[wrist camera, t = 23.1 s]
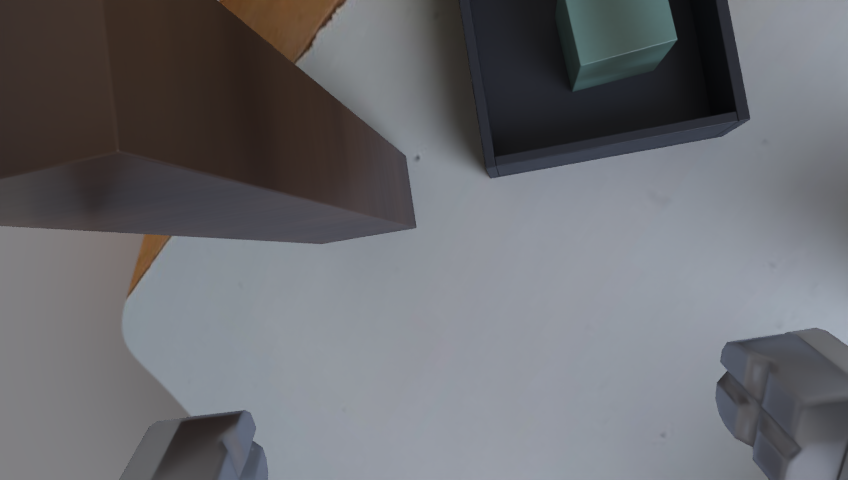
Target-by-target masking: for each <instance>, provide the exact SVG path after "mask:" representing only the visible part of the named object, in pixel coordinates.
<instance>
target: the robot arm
mask: <svg viewBox="0 0 848 480" xmlns="http://www.w3.org/2000/svg"><path fill="white" fill-rule="evenodd" d="M720 362H721V363H722V365H723V366H724V367H725V368H726V370H727V372H726V373H725V374H724V375H723V376H722V378H721V379H720V380H719V381H718V382H717V388H716V402H717V407H718V411H719V414H720V416H721V418H722V420H723V422H724V424H725V426H726V427H727V429H728V430H729V431H730V432H731V434H732V435H733V436H734V437H735V438H736V439H738V440H740V441H742V442H744V443H746V444H748V445H750V446H751V447H753V460H754V462H755V463H756V464H757V465H758V466H759V468H760V469H761V470H762V471H763V472H764V474H765V475H766V476H767V477H768V478H769V480H848V346H847V345H846V344H844V343H843V342H841V341H840V340H839V339H837V338H836V337H834V336H833V335H832V334H830V333H829V332H827V331H825V330H822V329H818V328H811V329H805V330H799V331H793V332H787V333H785V334H778V335H772V336H765V337H758V338H751V339H745V340H738V341H731V342H727V343H726V345H725V346H724V348H723V349H722V354H721V360H720ZM255 430H256V426H255V423H254V421H253V418H252V415H251V413H250V412H248V411H246V410H243V411H235V412H227V413H218V414H210V415H201V416H193V417H187V418H180V419H173V420H164V421H157V422H156V423H154V424H153V425H151V426H150V427H149V428H148V430H147V432H146V433H145V435H144V437H143V439H142V441H141V442H140V444H139V446H138V447H137V449H136V451H135V453H134V454H133V456H132V458H131V460H130V462H129V463H128V465H127V467H126V469H125V471H124V472H123V474H122V476H121V478H120V479H119V480H268V468H267V461H266V457H265V453H264V450H263V448H262V447H261V446H260V445H258V444H257V443H255V442H254V441H253V437H254V434H255Z"/></svg>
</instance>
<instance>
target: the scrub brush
mask: <svg viewBox="0 0 848 480" xmlns="http://www.w3.org/2000/svg"><path fill="white" fill-rule="evenodd" d="M555 21H556V25H557V30H558V34H559V38H560V43H561V47H562V51H563V56H564V60H565V64H566V69H567V73H568V77H569V82H570V86H571V90H572V92H575V91H578V90H582V89H586V88H590V87H594V86H597V85H601V84H605V83H609V82H612V81H616V80H620V79H624V78H628V77H631V76H635V75H639V74H643V73H646V72H650V71H654V69H655V68H656V67H657V66H658V64H659V63H660V62H661V60H662V59H663V58H664V56H665V55H666V54H667V53H668V51H669V50H670V49H671V47H672V46H673V45H674V43H675V42H676V41H677V35H676V31H675V27H674V23H673V18H672V14H671V10H670V6H669V2H668V0H557V4H556V11H555Z"/></svg>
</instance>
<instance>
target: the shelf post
mask: <svg viewBox="0 0 848 480" xmlns="http://www.w3.org/2000/svg"><path fill="white" fill-rule="evenodd" d="M0 226H12V227H30V228H47V229H66V230H83V231H102V232H118V233H136V234H154V235H172V236H189V237H207V238H225V239H242V240H260V241H278V242H296V243H313V244H323V243H329V242H335V241H341V240H347V239H353V238H359V237H365V236H371V235H377V234H383V233H389V232H394V231H400V230H406V229H412V228H416V221H415V215H414V208H413V202H412V195H411V188H410V182H409V175H408V168H407V162H406V156H405V155H404V154H403V153H401V152H400V151H399V150H398V149H397V148H395V147H394V146H393V145H392V144H390V143H389V142H388V141H387V140H386V139H384V138H383V137H382V136H381V135H380V134H378V133H377V132H376V131H375V130H374V129H372V128H371V127H370V126H369V125H367V124H366V123H365V122H364V121H363V120H361V119H360V118H359V117H358V116H357V115H355V114H354V113H353V112H352V111H351V110H349V109H348V108H347V107H346V106H344V105H343V104H342V103H341V102H340V101H338V100H337V99H336V98H335V97H334V96H332V95H331V94H330V93H329V92H327V91H326V90H325V89H324V88H323V87H321V86H320V85H319V84H318V83H317V82H315V81H314V80H313V79H312V78H311V77H309V76H308V75H307V74H306V73H304V72H303V71H302V70H301V69H300V68H298V67H297V66H296V65H295V64H294V63H292V62H291V61H290V60H289V59H287V58H286V57H285V56H284V55H283V54H281V53H280V52H279V51H278V50H277V49H275V48H274V47H273V46H272V45H271V44H269V43H268V42H267V41H266V40H264V39H263V38H262V37H261V36H260V35H258V34H257V33H256V32H255V31H254V30H252V29H251V28H250V27H249V26H248V25H246V24H245V23H244V22H243V21H241V20H240V19H239V18H238V17H237V16H235V15H234V14H233V13H232V12H231V11H229V10H228V9H227V8H226V7H224V6H223V5H222V4H221V3H220V2H218V1H217V0H0Z"/></svg>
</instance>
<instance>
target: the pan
mask: <svg viewBox="0 0 848 480" xmlns="http://www.w3.org/2000/svg"><path fill="white" fill-rule="evenodd" d="M668 2H669V6H670V10H671V14H672V18H673V23H674V27H675V31H676V35H677V41H676V42H675V43H674V45H673V46H672V47H671V49H670V50H669V51H668V53H667V54H666V55H665V56H664V58H663V59H662V60H661V62H660V63H659V64H658V66H657V67H656V68H655V69H654V71H650V72H646V73H643V74H639V75H635V76H631V77H628V78H624V79H620V80H616V81H612V82H609V83H605V84H601V85H597V86H594V87H590V88H586V89H582V90H578V91H575V92H572V90H571V86H570V82H569V77H568V73H567V69H566V64H565V60H564V56H563V51H562V47H561V43H560V38H559V34H558V30H557V25H556V21H555V11H556V4H557V0H459V4H460V10H461V16H462V23H463V29H464V35H465V41H466V48H467V54H468V60H469V66H470V73H471V79H472V85H473V91H474V98H475V104H476V110H477V116H478V123H479V129H480V135H481V141H482V148H483V154H484V160H485V166H486V169H487V171H488V174H489V176H490V178H496V177H501V176H507V175H512V174H518V173H523V172H529V171H534V170H540V169H545V168H551V167H556V166H562V165H567V164H573V163H578V162H584V161H589V160H595V159H600V158H606V157H611V156H617V155H622V154H628V153H633V152H639V151H644V150H650V149H655V148H661V147H666V146H672V145H678V144H683V143H689V142H694V141H700V140H705V139H711V138H716V137H722V136H724V135H725V134H727V133H728V132H730V131H732V130H733V129H735V128H737V127H738V126H740V125H742V124H743V123H745V122H747V121H748V120H750V115H749V110H748V105H747V99H746V94H745V89H744V84H743V79H742V73H741V68H740V63H739V58H738V53H737V47H736V42H735V37H734V32H733V27H732V21H731V16H730V11H729V6H728V1H727V0H668Z"/></svg>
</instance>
